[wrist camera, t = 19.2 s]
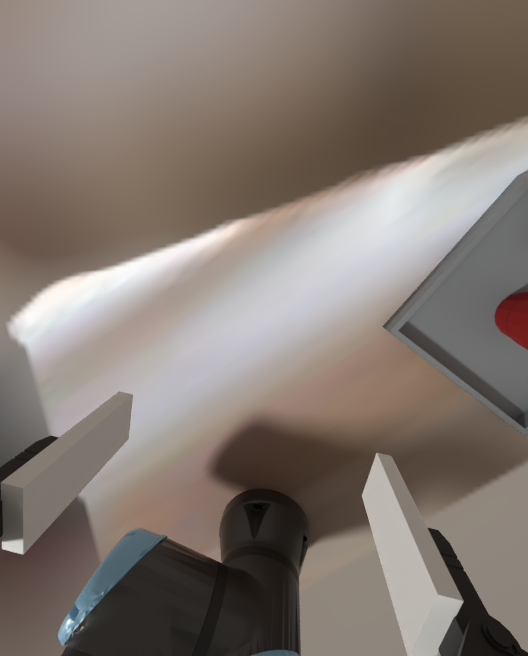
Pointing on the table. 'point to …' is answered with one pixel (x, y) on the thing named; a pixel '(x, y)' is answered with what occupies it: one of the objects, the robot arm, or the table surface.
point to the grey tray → (476, 309)
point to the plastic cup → (514, 318)
